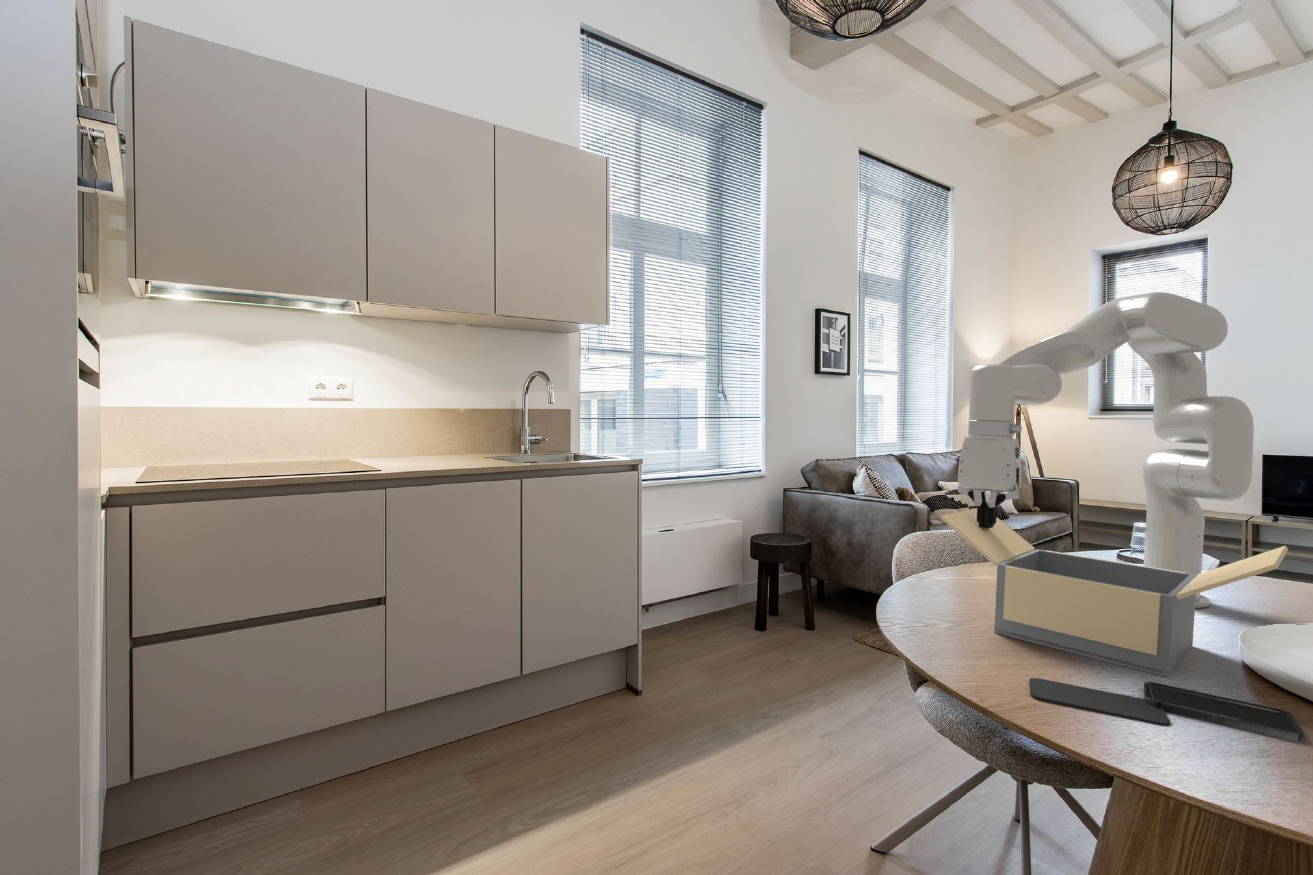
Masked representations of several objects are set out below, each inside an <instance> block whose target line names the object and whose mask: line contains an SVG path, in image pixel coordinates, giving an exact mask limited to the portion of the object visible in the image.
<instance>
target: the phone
mask: <svg viewBox="0 0 1313 875" xmlns="http://www.w3.org/2000/svg"><path fill="white" fill-rule="evenodd" d="M1028 683H1029V685H1028V686H1029V695H1030V697H1031V698H1032V699H1034V700H1037V701H1040V702H1045V703H1048V704H1053V705H1054V704H1055V705H1059V706H1063V707H1067V708H1074V709H1077V710H1082V711H1089V712H1094V713H1099V714H1104V715H1107V716H1114V717H1117V718H1123V719H1128V720H1132V721H1138V722H1143V723H1148V724H1152V725H1156V726H1157V725H1158V726H1162V727H1168V726H1170V725H1171V721H1170V718H1169V717H1168V715H1167V712H1165V711H1164V710H1163V709H1161V708H1157V707H1153V706H1151V705H1149V704H1147V703H1146V702H1145V698H1140V697H1135V696H1131V695H1126V694H1125V695H1124V694H1121V693H1120V694H1119V693H1115V692H1109V691H1104V690H1100V689H1096V688H1090V687H1084V686H1080V685H1076V684H1075V685H1074V684H1070V683H1063V682H1059V681H1054V680H1049V679H1044V678H1038V677H1031V678H1029V681H1028Z"/></svg>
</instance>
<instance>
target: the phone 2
mask: <svg viewBox="0 0 1313 875" xmlns="http://www.w3.org/2000/svg"><path fill="white" fill-rule="evenodd" d="M1143 696H1144V697H1143V699H1145V702H1146V703H1147V704H1149V705H1151V706H1153V707H1157V708H1161V709H1163V710H1164V711H1165V713H1169V714H1173V715H1178V716H1182V717H1185V718H1191V719H1195V720H1200V721H1204V722H1207V723H1212V724H1217V725H1221V726H1226V727H1229V728H1232V729H1237V730H1238V729H1239V730H1243V731H1247V732H1252V733H1256V734H1259V735H1265V736H1268V737H1272V738H1278V739H1281V740H1287V741H1289V742H1294V743H1295V742H1296V743H1303V742H1304V736H1305V732H1304V730H1303V729H1302V727H1301V726H1300V723H1299V722H1298V720H1297V719H1296V717H1295V715H1293V714H1294V713H1293V714H1292V713H1291V712H1288V711H1286V710H1283V709H1279V708H1276V707H1275V708H1274V707H1270V706H1267V705H1266V706H1265V705H1261V704H1255V703H1252V702H1246V701H1242V700H1238V699H1232V698H1229V697H1224V696H1219V695H1214V694H1210V693H1205V692H1201V691H1196V690H1190V689H1186V688H1183V687H1182V688H1181V687H1177V686H1172V685H1167V684H1162V683H1158V682H1154V681H1144V682H1143Z"/></svg>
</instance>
